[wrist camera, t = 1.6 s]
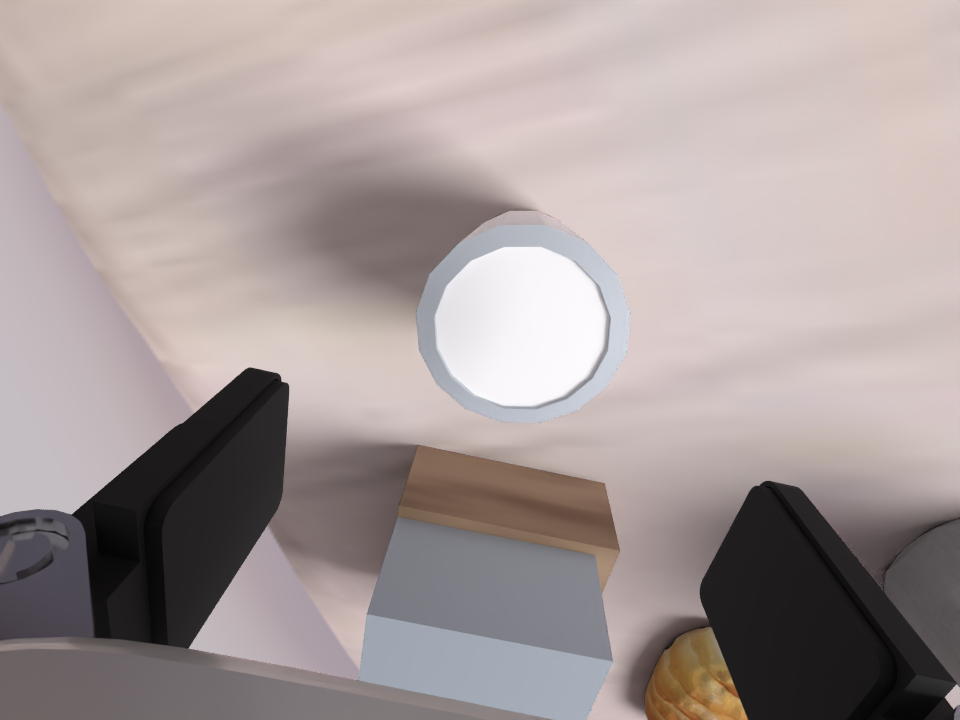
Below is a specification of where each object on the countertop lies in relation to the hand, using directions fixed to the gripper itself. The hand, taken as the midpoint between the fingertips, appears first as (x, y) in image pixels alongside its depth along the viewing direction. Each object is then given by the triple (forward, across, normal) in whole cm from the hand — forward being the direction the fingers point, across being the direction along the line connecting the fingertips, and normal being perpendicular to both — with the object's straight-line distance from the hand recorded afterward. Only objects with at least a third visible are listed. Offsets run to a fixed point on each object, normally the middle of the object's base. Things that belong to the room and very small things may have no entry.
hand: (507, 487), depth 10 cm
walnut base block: (+15, -2, +14) cm, 20 cm away
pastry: (+15, -18, +21) cm, 31 cm away
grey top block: (+10, -2, +14) cm, 17 cm away
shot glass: (+14, 0, -1) cm, 14 cm away
